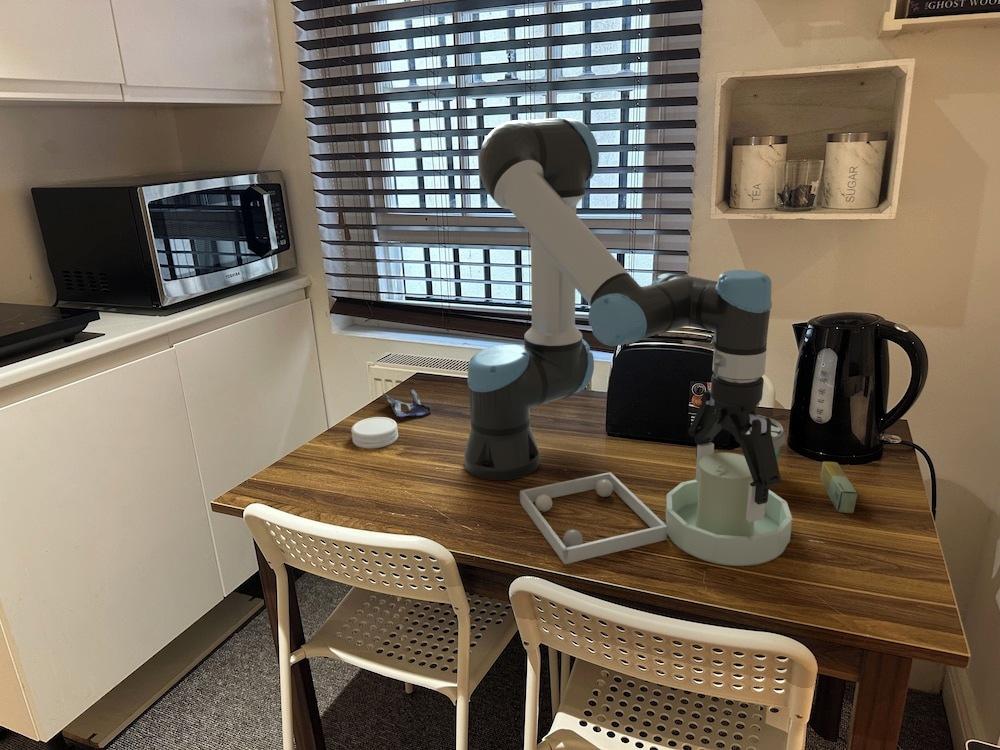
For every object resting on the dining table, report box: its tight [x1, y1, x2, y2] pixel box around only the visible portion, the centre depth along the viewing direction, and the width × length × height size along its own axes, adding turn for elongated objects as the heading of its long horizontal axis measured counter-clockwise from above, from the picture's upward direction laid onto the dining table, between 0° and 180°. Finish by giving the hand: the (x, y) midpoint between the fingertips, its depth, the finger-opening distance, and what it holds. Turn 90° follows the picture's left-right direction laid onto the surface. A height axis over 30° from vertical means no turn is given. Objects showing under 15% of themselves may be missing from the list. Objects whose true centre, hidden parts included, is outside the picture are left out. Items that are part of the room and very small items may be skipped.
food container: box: [745, 414, 786, 476], centre depth 132 cm, size 12×6×10 cm, turn 168°
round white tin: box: [350, 416, 399, 450], centre depth 155 cm, size 10×10×4 cm
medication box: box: [819, 461, 858, 514], centre depth 125 cm, size 12×3×4 cm, turn 171°
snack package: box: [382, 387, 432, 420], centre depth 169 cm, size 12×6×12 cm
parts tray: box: [519, 471, 668, 565], centre depth 120 cm, size 20×18×2 cm
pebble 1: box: [534, 494, 553, 513], centre depth 124 cm, size 3×3×3 cm
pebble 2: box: [562, 528, 584, 548], centre depth 113 cm, size 3×3×3 cm
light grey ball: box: [594, 479, 614, 498], centre depth 128 cm, size 3×3×3 cm
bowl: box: [665, 479, 793, 567], centre depth 115 cm, size 19×19×5 cm
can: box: [695, 452, 754, 537], centre depth 114 cm, size 9×9×12 cm
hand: (727, 498), depth 114 cm, fingers open, 13 cm apart
